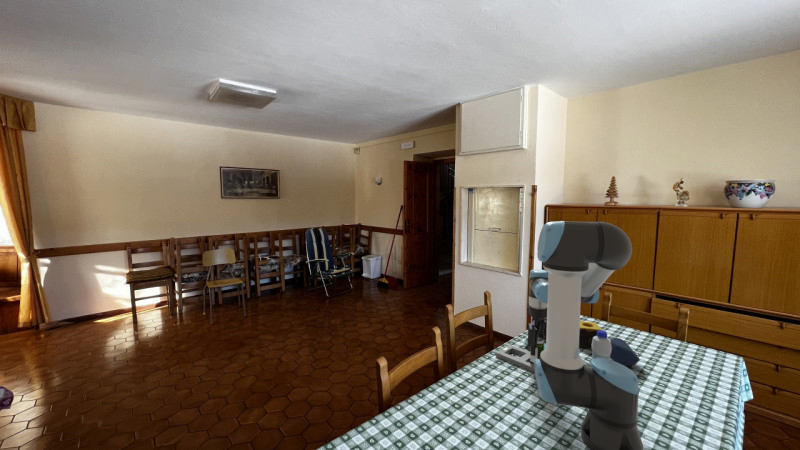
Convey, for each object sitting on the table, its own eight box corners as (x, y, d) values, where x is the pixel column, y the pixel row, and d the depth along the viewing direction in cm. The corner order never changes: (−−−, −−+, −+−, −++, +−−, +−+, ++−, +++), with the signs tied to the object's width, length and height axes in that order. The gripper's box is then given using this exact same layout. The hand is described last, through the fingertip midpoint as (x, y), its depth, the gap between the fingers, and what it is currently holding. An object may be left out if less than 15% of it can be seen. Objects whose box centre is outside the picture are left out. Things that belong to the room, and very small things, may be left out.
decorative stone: (612, 369, 132) (613, 346, 131) (601, 355, 144) (602, 334, 143) (644, 373, 129) (645, 349, 128) (630, 358, 141) (631, 337, 140)
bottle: (613, 386, 120) (615, 335, 119) (594, 384, 122) (596, 333, 120) (605, 376, 127) (607, 328, 125) (587, 374, 128) (589, 326, 127)
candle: (577, 347, 152) (578, 327, 151) (572, 339, 161) (573, 320, 161) (601, 350, 149) (602, 330, 148) (595, 341, 158) (595, 322, 158)
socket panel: (544, 376, 127) (544, 371, 127) (496, 356, 143) (496, 352, 143) (557, 366, 135) (557, 361, 134) (510, 348, 151) (510, 344, 151)
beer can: (539, 362, 138) (540, 335, 137) (546, 368, 133) (547, 341, 132) (527, 363, 137) (528, 336, 137) (534, 369, 132) (534, 341, 131)
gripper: (536, 313, 124) (535, 370, 126) (557, 303, 136) (555, 355, 138) (519, 309, 130) (517, 363, 132) (539, 299, 142) (538, 349, 144)
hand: (537, 359), depth 135 cm, fingers closed on beer can, 5 cm apart
